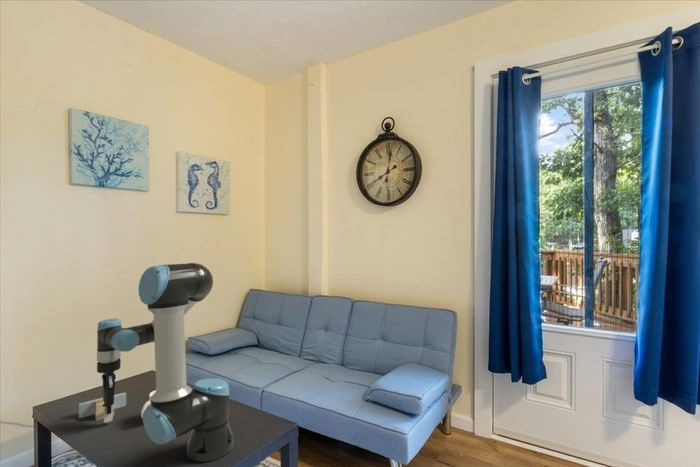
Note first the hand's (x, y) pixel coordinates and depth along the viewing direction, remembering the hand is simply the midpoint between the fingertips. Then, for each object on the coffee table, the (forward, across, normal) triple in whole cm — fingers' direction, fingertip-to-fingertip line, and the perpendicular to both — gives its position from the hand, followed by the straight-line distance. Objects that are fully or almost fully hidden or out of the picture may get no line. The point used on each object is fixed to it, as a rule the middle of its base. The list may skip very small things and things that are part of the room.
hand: (108, 420), depth 135 cm
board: (+1, +14, 0) cm, 14 cm away
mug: (+2, -8, -15) cm, 17 cm away
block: (+2, +10, 0) cm, 10 cm away
